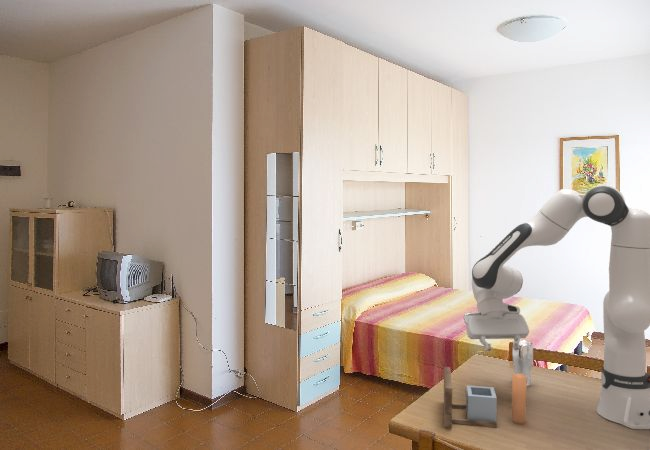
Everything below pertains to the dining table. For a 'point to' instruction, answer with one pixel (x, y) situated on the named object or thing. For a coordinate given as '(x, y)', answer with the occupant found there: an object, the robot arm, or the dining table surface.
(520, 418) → the dowel
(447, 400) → the backstop wall
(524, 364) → the beer glass
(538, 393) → the dining table surface
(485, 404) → the socket block
